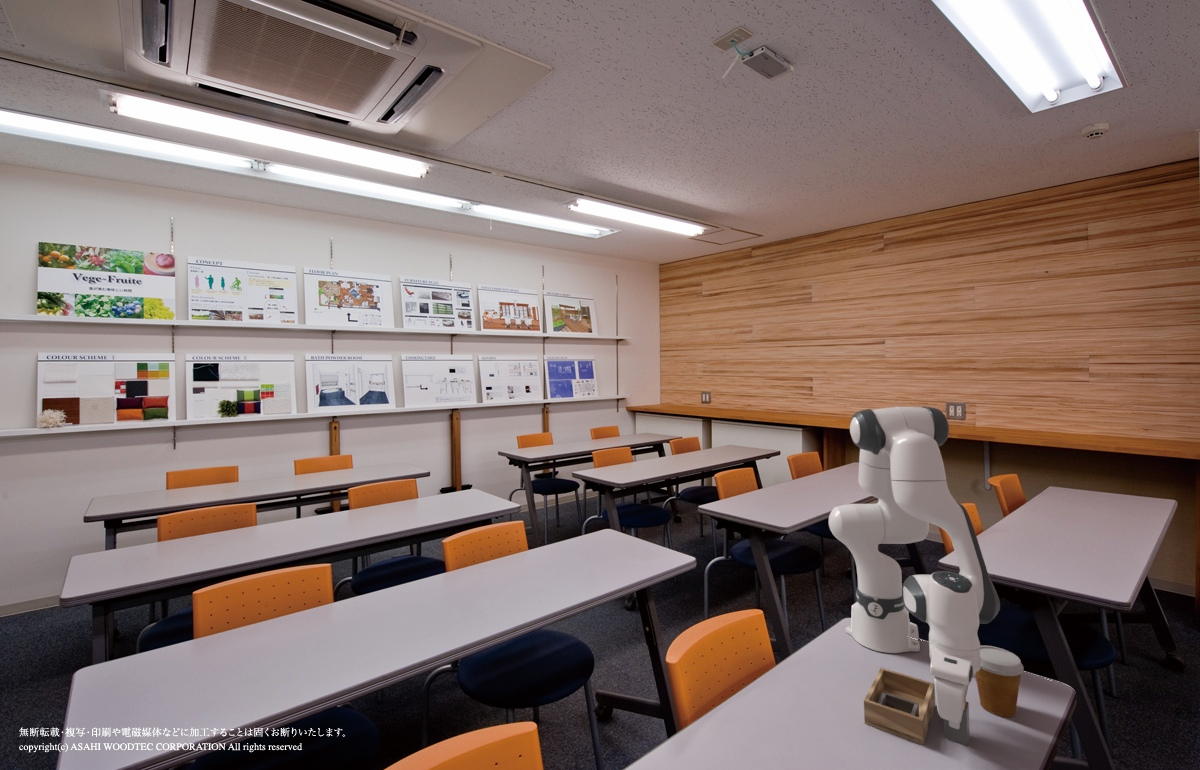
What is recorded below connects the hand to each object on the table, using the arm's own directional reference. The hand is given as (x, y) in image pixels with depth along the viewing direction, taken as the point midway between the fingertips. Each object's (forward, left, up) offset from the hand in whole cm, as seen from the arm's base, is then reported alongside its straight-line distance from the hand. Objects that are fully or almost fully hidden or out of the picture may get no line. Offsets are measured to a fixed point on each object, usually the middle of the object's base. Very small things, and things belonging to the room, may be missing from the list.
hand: (956, 719), depth 107 cm
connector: (0, 0, -4) cm, 4 cm away
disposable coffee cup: (-16, +6, -4) cm, 18 cm away
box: (-1, -10, -4) cm, 11 cm away
